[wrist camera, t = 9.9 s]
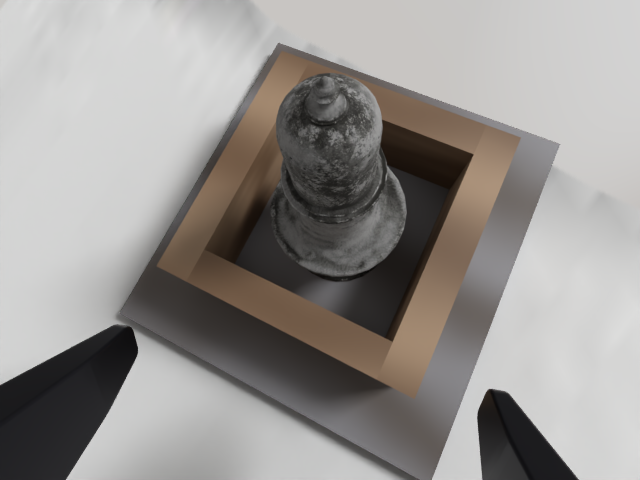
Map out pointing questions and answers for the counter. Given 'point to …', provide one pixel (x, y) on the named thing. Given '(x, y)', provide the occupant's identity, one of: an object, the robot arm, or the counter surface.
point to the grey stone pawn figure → (335, 180)
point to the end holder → (358, 294)
